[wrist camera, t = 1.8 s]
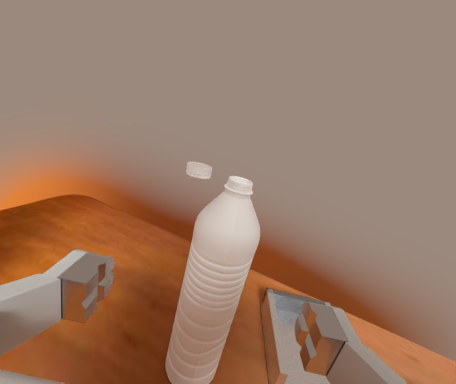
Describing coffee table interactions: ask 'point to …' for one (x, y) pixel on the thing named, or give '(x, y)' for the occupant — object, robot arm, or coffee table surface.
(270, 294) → the keeper cradle
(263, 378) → the coffee table surface
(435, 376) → the coffee table surface
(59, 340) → the coffee table surface
